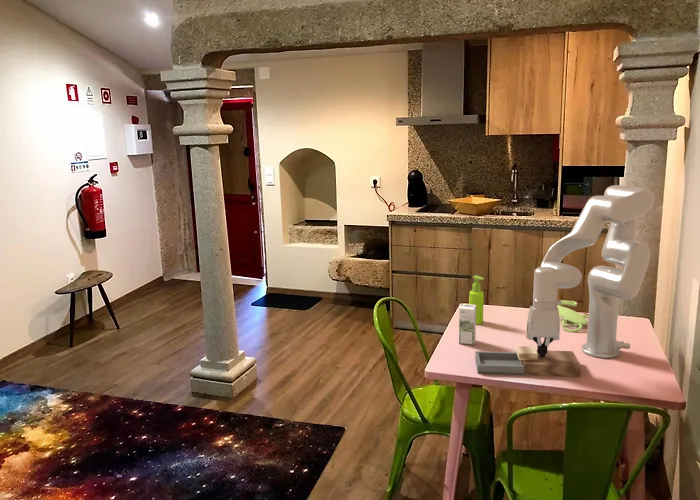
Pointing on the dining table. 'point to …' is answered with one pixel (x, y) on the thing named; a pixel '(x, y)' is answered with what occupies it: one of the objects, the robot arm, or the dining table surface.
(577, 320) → the figurine
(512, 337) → the dining table surface
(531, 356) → the tile
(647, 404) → the dining table surface
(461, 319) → the syrup box
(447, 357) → the dining table surface
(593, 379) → the dining table surface
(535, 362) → the board
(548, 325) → the robot arm
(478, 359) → the box
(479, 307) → the soap dispenser
